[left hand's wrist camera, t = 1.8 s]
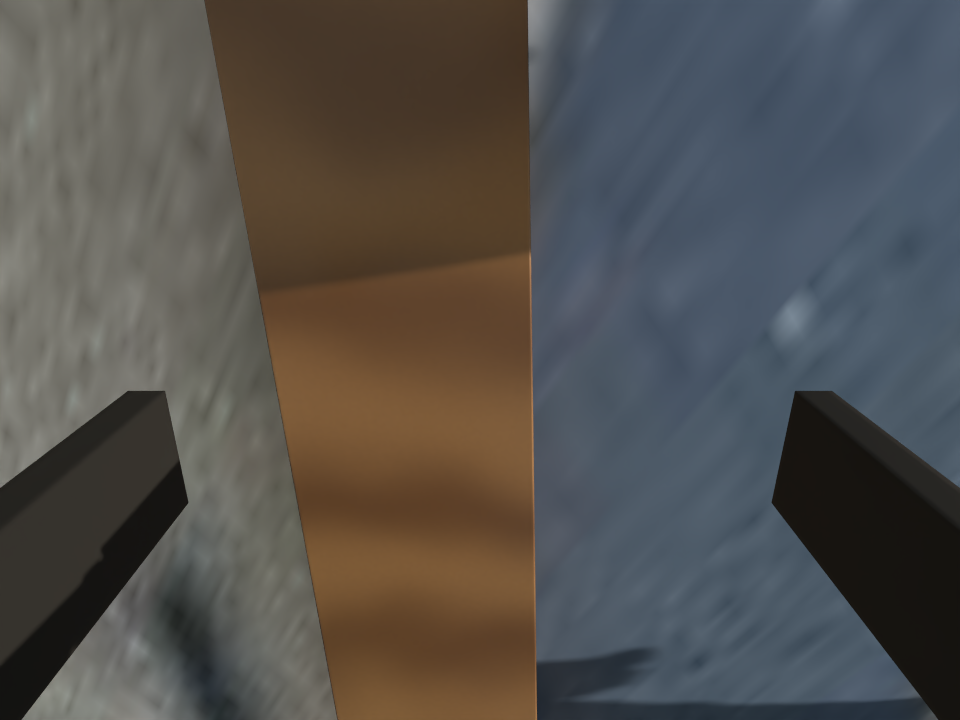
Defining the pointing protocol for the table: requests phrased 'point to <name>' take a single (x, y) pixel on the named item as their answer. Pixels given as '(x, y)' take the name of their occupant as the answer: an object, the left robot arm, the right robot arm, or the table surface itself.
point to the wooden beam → (398, 331)
